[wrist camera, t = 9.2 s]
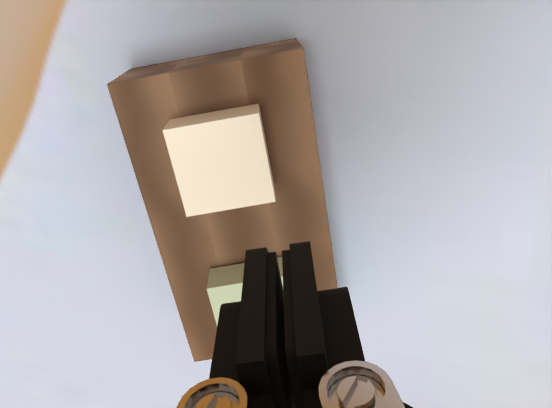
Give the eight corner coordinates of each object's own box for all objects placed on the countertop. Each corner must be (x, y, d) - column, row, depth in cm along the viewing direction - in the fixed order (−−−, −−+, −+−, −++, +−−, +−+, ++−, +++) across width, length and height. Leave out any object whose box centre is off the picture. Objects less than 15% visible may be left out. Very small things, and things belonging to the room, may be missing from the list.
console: (296, 38, 34) (303, 48, 29) (333, 293, 43) (344, 337, 38) (131, 68, 34) (106, 84, 29) (202, 314, 44) (194, 361, 38)
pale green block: (284, 226, 38) (289, 275, 32) (295, 285, 40) (302, 340, 34) (215, 238, 38) (206, 288, 32) (229, 295, 41) (224, 353, 34)
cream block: (258, 89, 34) (258, 113, 27) (272, 163, 36) (275, 201, 30) (180, 103, 34) (162, 130, 27) (199, 176, 36) (186, 217, 30)
